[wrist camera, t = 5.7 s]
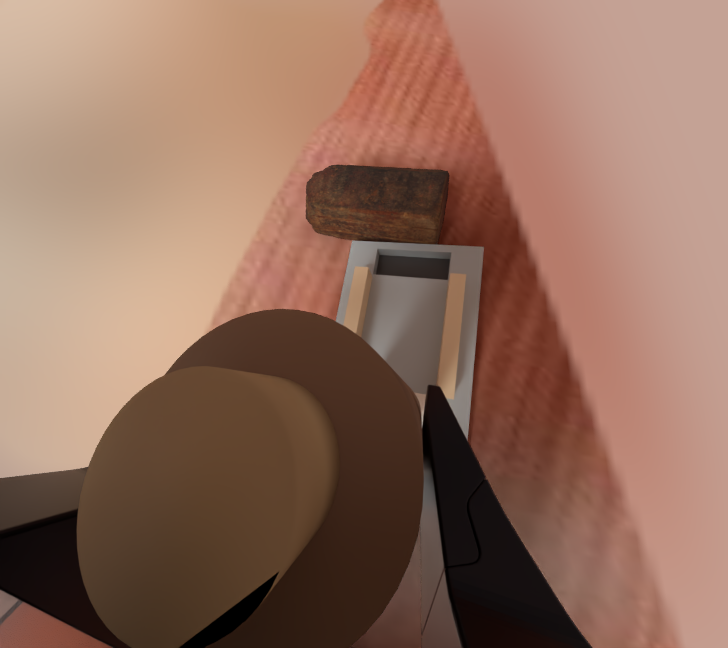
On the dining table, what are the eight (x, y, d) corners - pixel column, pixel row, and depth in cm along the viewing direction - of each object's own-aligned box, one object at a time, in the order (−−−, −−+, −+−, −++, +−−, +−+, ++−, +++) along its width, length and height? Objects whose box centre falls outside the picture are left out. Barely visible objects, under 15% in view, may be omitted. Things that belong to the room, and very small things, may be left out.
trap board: (457, 518, 16) (464, 542, 14) (309, 476, 19) (291, 489, 16) (480, 255, 20) (489, 234, 18) (355, 248, 23) (347, 229, 20)
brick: (445, 212, 22) (452, 166, 18) (435, 254, 21) (439, 217, 17) (330, 200, 25) (310, 158, 20) (317, 238, 24) (293, 202, 20)
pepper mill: (416, 459, 15) (370, 1073, 1) (344, 442, 16) (-92, 690, 2) (425, 383, 16) (453, 291, 2) (357, 371, 17) (104, 261, 3)
